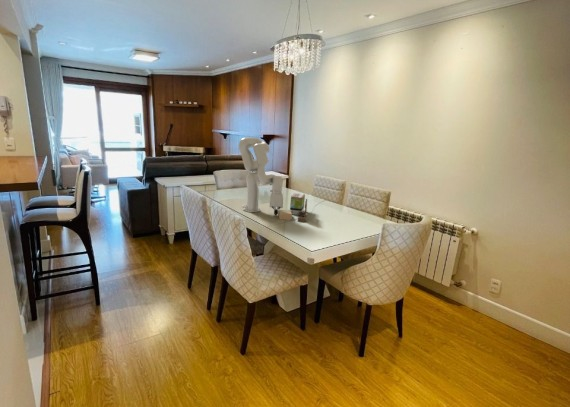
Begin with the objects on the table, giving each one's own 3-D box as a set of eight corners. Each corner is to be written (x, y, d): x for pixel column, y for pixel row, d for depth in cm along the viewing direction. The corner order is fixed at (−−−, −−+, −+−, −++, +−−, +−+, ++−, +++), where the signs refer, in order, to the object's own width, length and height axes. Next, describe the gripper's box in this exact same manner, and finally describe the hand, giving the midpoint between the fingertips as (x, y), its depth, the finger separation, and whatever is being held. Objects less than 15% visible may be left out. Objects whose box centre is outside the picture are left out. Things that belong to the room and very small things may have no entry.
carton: (279, 219, 236) (280, 213, 235) (278, 215, 247) (278, 209, 246) (291, 220, 237) (291, 213, 236) (289, 215, 249) (289, 209, 247)
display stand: (297, 221, 232) (298, 203, 229) (298, 214, 250) (299, 198, 247) (305, 222, 232) (306, 204, 229) (306, 215, 250) (307, 198, 247)
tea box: (301, 215, 250) (302, 197, 247) (289, 213, 252) (290, 196, 249) (304, 210, 265) (305, 193, 261) (292, 209, 267) (293, 192, 263)
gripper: (266, 192, 235) (265, 215, 239) (286, 193, 234) (284, 216, 238) (268, 190, 242) (267, 212, 246) (286, 191, 241) (285, 214, 245)
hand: (275, 214), depth 242 cm, fingers closed
